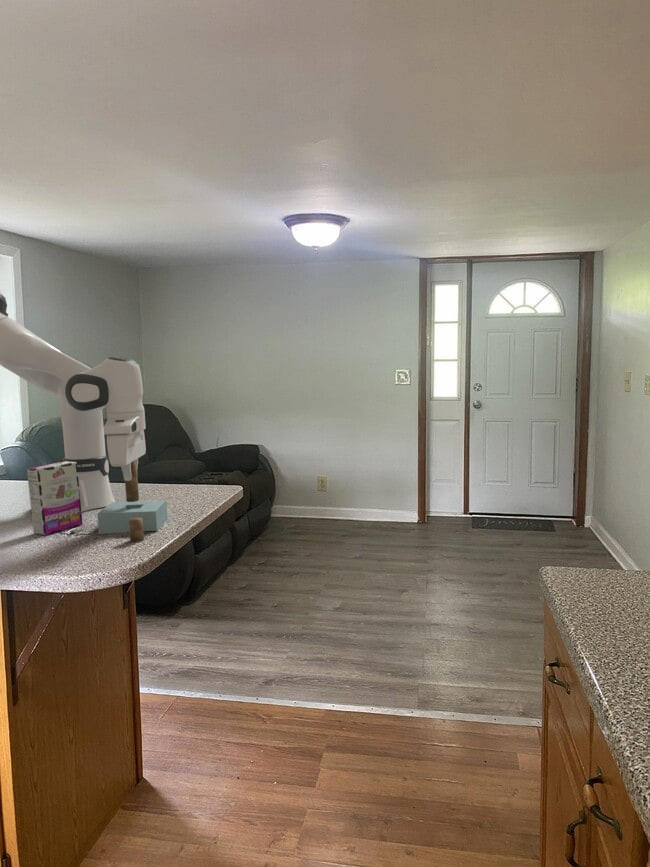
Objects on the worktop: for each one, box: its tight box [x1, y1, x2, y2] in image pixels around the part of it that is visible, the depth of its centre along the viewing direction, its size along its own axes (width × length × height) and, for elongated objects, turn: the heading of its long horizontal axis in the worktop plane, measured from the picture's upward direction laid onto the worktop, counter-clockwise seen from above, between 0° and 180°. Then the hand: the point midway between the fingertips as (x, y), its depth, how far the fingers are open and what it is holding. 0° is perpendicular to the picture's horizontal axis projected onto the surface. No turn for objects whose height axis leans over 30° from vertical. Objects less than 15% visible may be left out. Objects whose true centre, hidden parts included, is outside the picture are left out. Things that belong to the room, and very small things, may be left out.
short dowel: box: [129, 517, 145, 543], centre depth 151 cm, size 3×3×5 cm
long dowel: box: [124, 460, 140, 502], centre depth 163 cm, size 3×3×12 cm
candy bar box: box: [26, 461, 84, 536], centre depth 163 cm, size 11×5×16 cm, turn 148°
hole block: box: [96, 499, 169, 535], centre depth 164 cm, size 14×12×5 cm
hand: (130, 478), depth 163 cm, fingers closed on long dowel, 3 cm apart
